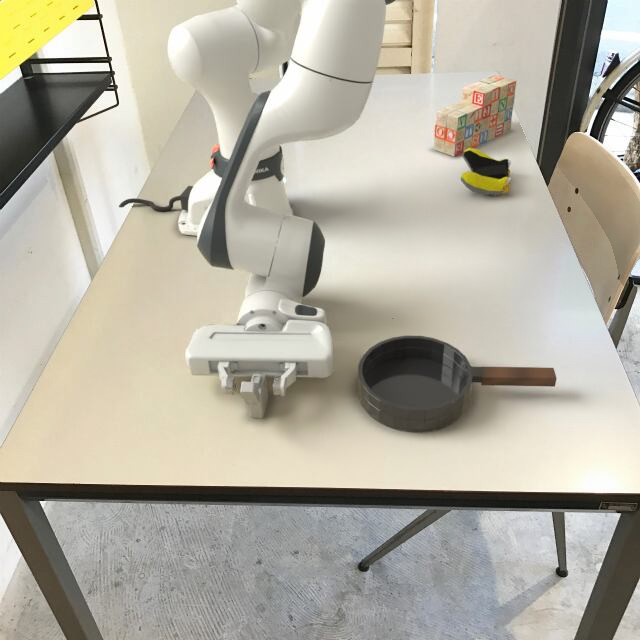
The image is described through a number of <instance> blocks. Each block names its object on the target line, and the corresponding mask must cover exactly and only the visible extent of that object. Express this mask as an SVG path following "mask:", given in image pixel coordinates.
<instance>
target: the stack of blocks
mask: <svg viewBox="0 0 640 640" xmlns="http://www.w3.org/2000/svg"><path fill="white" fill-rule="evenodd" d="M516 87H517V80H515V79H512V78H508V77H503V76H499V75H492V76H489V77H485V78H482V79H480V80H478V81H476V82H473V83H471V84H468V85H466V86H464V87H462V93H461V100H460V101H458V102H455V103H453V104H451V105H448V106H446V107H443V108H441V109H439V110H436V114H435V124H434V135H433V136H434V137H433V138H434V139H433V140H434V141H433V150H434V151H438V152H440V153H443V154H445V155H449V156H452V157H456V156H459V155H460V154H462V153H464V151H465V150H467V149H468V148H474V149H475V148H476V147H479V146H480V145H482V144H484V143H487V142H488V141H491V140H493V139H495V138H497V137H500V136H502V135H504V134H507V133H510V131H511V127H512V120H513V119H512V117H513V111H514V110H513V109H514V104H515V97H516Z"/></svg>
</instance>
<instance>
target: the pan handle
mask: <svg viewBox="0 0 640 640" xmlns="http://www.w3.org/2000/svg"><path fill="white" fill-rule="evenodd" d="M471 370H472V375H473V381H472V384H480V385H481V386H492V387H493V386H496V387H497V386H499V387H500V386H501V387H502V386H504V387H508V386H509V387H510V386H511V387H549V388H550V387H551V388H553V387H556V384H557V379H558V378H557V373H556V370H555V368H554V367H542V366H541V367H537V366H535V367H534V366H532V367H531V366H526V367H525V366H471Z"/></svg>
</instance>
